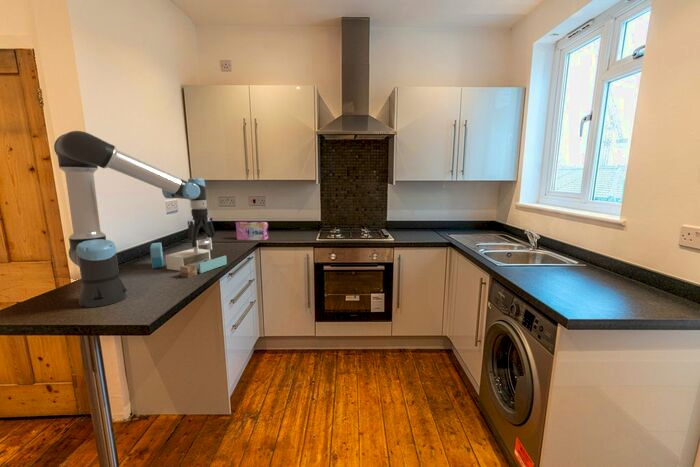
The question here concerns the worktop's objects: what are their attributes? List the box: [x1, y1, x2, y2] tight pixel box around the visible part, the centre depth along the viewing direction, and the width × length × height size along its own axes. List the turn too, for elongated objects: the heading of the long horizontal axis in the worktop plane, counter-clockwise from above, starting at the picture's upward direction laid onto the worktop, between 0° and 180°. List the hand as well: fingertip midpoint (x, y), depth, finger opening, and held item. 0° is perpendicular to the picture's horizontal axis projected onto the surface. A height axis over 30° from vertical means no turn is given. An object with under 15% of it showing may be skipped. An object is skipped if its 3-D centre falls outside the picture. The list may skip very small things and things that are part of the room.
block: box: [179, 264, 198, 279], centre depth 152 cm, size 5×5×5 cm
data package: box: [149, 242, 164, 269], centre depth 169 cm, size 12×4×12 cm
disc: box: [196, 238, 211, 247], centre depth 164 cm, size 8×8×2 cm
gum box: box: [235, 220, 269, 241], centre depth 241 cm, size 24×8×14 cm, turn 84°
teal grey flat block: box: [191, 255, 228, 274], centre depth 165 cm, size 13×18×5 cm
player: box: [164, 247, 211, 272], centre depth 170 cm, size 12×18×7 cm, turn 157°
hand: (203, 251), depth 165 cm, fingers closed on disc, 8 cm apart
